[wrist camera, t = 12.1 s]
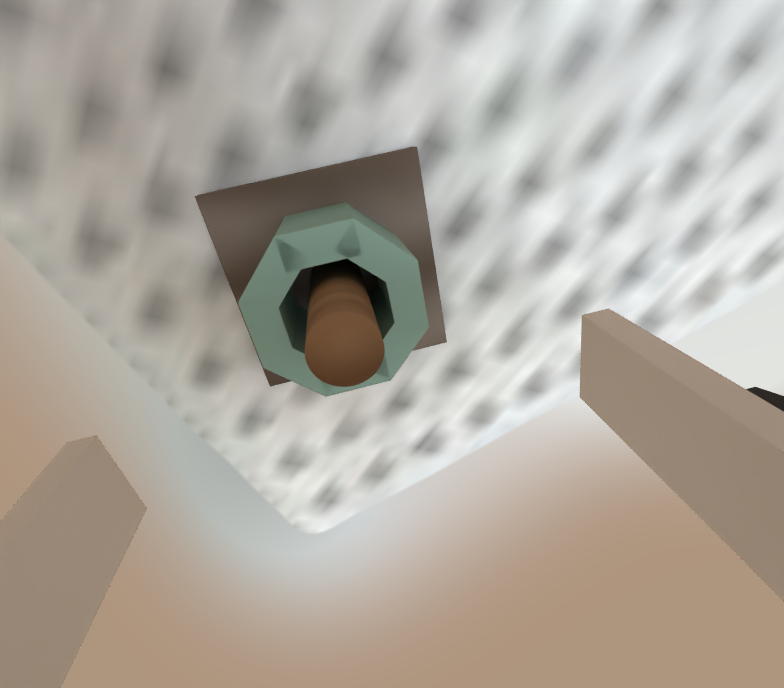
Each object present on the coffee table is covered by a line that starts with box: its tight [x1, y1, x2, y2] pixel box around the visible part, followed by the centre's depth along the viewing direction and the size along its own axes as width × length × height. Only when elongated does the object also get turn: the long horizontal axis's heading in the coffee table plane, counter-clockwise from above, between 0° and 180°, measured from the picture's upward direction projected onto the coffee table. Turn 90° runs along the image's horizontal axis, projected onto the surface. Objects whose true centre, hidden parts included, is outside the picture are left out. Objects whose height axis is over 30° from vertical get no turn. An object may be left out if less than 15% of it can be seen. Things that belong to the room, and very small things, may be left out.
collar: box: [238, 202, 429, 396], centre depth 22 cm, size 8×8×6 cm
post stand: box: [195, 147, 447, 387], centre depth 20 cm, size 12×12×11 cm
